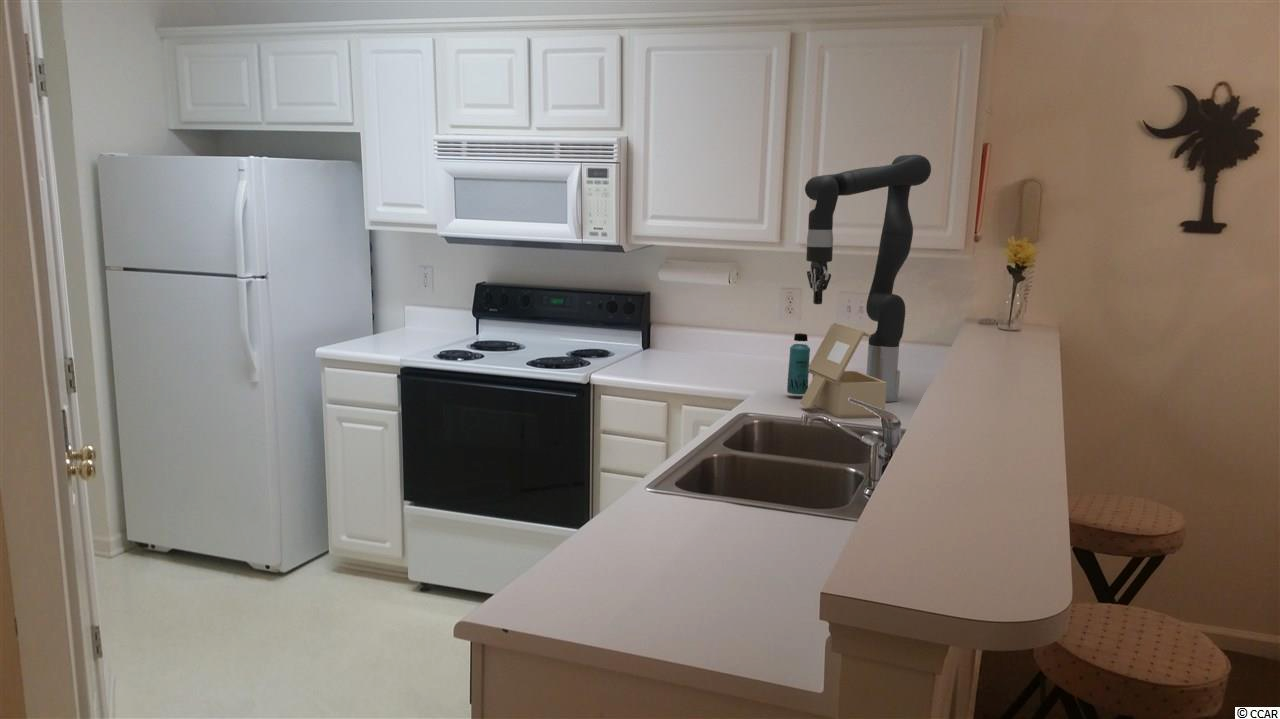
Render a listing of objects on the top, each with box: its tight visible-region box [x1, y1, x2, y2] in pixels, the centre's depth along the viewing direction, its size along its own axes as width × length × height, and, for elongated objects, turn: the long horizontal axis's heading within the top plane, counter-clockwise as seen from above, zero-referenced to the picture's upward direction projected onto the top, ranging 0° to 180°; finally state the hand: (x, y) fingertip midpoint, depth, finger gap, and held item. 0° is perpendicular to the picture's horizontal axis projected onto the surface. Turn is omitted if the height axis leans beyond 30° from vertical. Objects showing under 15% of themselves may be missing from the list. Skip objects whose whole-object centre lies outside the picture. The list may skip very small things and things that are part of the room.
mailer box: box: [812, 370, 887, 419], centre depth 275 cm, size 14×20×10 cm
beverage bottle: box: [786, 332, 811, 395], centre depth 292 cm, size 6×7×20 cm
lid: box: [799, 322, 871, 410], centre depth 273 cm, size 26×21×3 cm
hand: (817, 303), depth 280 cm, fingers closed
